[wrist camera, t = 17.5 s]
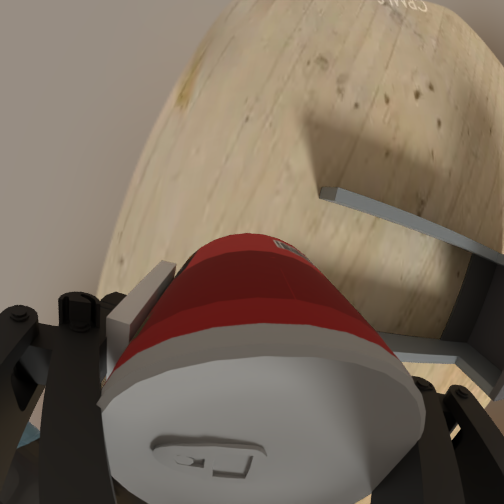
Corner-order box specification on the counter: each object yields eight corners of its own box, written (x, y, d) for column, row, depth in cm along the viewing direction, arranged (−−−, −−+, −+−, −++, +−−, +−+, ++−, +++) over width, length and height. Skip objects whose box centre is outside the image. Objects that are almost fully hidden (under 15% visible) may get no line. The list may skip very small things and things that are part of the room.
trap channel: (281, 325, 31) (307, 414, 17) (321, 186, 28) (391, 189, 14) (466, 348, 34) (519, 394, 20) (501, 257, 31) (567, 284, 17)
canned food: (165, 238, 15) (30, 343, 4) (318, 223, 15) (467, 302, 4) (188, 362, 16) (150, 525, 6) (320, 350, 16) (389, 502, 6)
